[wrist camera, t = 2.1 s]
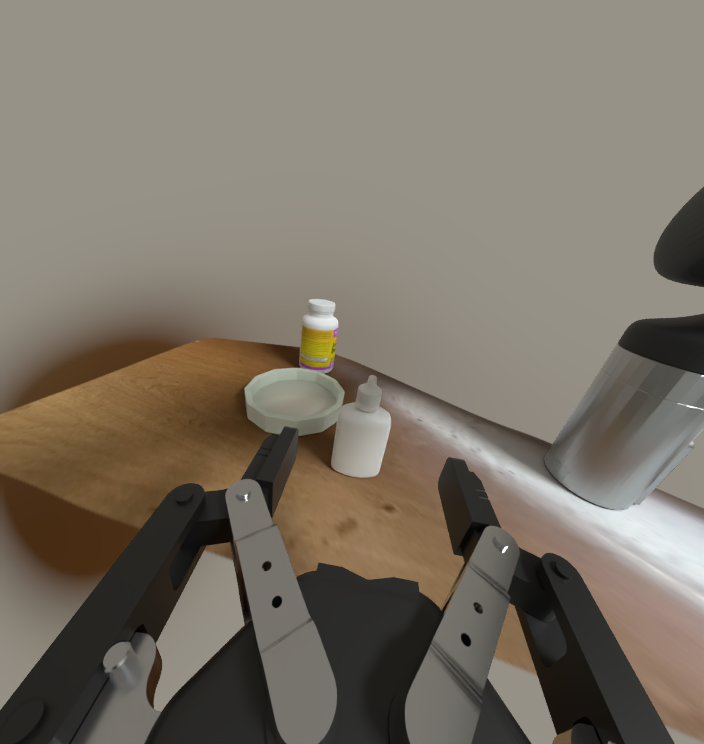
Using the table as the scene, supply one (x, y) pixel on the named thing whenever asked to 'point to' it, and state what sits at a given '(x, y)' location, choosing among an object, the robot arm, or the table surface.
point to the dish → (293, 400)
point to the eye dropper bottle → (361, 433)
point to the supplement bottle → (318, 336)
